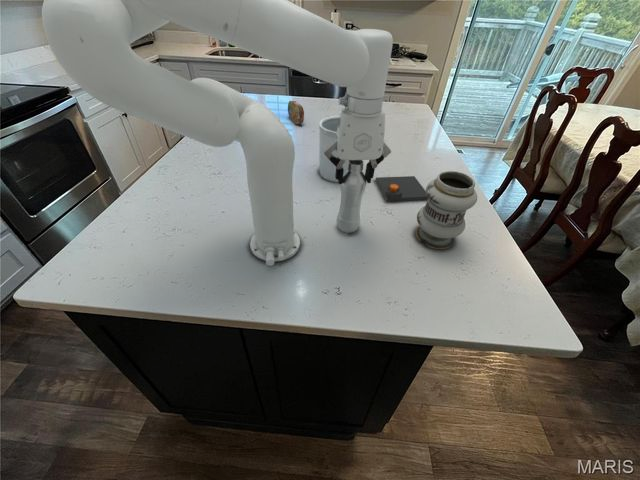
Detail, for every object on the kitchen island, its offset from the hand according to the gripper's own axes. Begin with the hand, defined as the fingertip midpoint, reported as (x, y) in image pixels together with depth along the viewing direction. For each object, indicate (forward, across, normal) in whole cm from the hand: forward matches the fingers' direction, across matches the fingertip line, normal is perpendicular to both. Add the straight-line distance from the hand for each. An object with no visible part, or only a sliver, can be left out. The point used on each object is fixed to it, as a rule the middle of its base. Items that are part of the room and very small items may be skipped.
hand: (353, 180), depth 72 cm
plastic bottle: (+15, 0, 0) cm, 15 cm away
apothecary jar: (+15, +23, -6) cm, 28 cm away
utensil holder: (+15, +3, +31) cm, 35 cm away
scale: (+15, +22, +18) cm, 32 cm away
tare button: (+12, +17, +14) cm, 26 cm away
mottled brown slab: (+15, -8, +82) cm, 84 cm away
